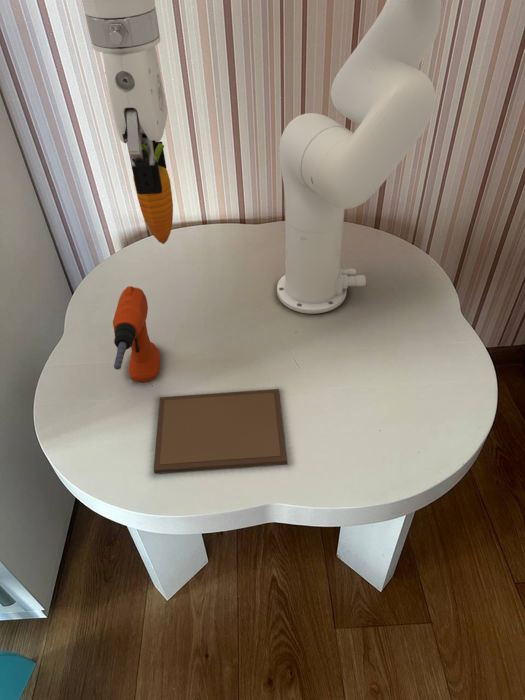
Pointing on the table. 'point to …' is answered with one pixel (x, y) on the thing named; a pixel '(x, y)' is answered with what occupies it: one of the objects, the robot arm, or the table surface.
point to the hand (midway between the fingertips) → (152, 180)
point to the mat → (219, 431)
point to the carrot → (158, 204)
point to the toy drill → (135, 336)
